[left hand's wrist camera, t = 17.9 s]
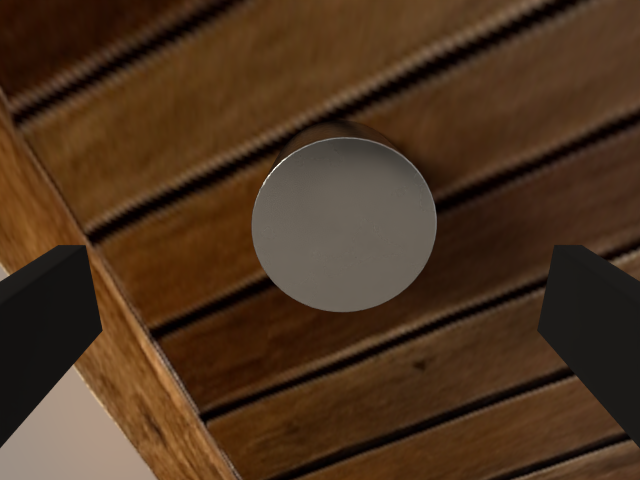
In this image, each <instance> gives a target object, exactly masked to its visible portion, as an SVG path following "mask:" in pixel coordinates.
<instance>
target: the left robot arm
mask: <svg viewBox="0 0 640 480" xmlns="http://www.w3.org/2000/svg"><path fill="white" fill-rule="evenodd" d="M102 331H103V330H102V325H101V320H100V315H99V310H98V305H97V300H96V295H95V290H94V285H93V280H92V275H91V270H90V265H89V260H88V255H87V250H86V245H58V246H56V247H55V248H53V249H51V250H50V251H48V252H47V253H45V254H43V255H42V256H40V257H39V258H37V259H35V260H34V261H32V262H31V263H29V264H27V265H26V266H24V267H23V268H21V269H20V270H18V271H16V272H15V273H13V274H12V275H10V276H8V277H7V278H5V279H4V280H2V281H0V448H1V447H2V446H3V444H4V443H5V442H6V441H7V440H8V439H9V437H10V436H11V435H12V434H13V433H14V432H15V431H16V429H17V428H18V427H19V426H20V425H21V424H22V423H23V421H24V420H25V419H26V418H27V417H28V416H29V415H30V413H31V412H32V411H33V410H34V409H35V408H36V406H37V405H38V404H39V403H40V402H41V401H42V400H43V398H44V397H45V396H46V395H47V394H48V393H49V391H50V390H51V389H52V388H53V387H54V386H55V385H56V383H57V382H58V381H59V380H60V379H61V378H62V377H63V375H64V374H65V373H66V372H67V371H68V370H69V369H70V367H71V366H72V365H73V364H74V363H75V362H76V361H77V359H78V358H79V357H80V356H81V355H82V354H83V352H84V351H85V350H86V349H87V348H88V347H89V346H90V344H91V343H92V342H93V341H94V340H95V339H96V338H97V336H98V335H99V334H100V333H101V332H102ZM537 331H538V332H539V333H540V334H541V335H542V336H543V338H544V339H545V340H546V341H547V342H548V343H549V344H550V346H551V347H552V348H553V349H554V350H555V351H556V352H557V354H558V355H559V356H560V357H561V358H562V359H563V361H564V362H565V363H566V364H567V365H568V366H569V367H570V369H571V370H572V371H573V372H574V373H575V374H576V375H577V377H578V378H579V379H580V380H581V381H582V382H583V384H584V385H585V386H586V387H587V388H588V389H589V390H590V392H591V393H592V394H593V395H594V396H595V397H596V398H597V400H598V401H599V402H600V403H601V404H602V405H603V406H604V408H605V409H606V410H607V411H608V412H609V413H610V415H611V416H612V417H613V418H614V419H615V420H616V421H617V423H618V424H619V425H620V426H621V427H622V428H623V429H624V431H625V432H626V433H627V434H628V435H629V436H630V437H631V439H632V440H633V441H634V442H635V443H636V444H637V446H638V447H639V448H640V281H638V280H636V279H635V278H633V277H632V276H630V275H628V274H627V273H625V272H624V271H622V270H620V269H619V268H617V267H616V266H614V265H613V264H611V263H609V262H608V261H606V260H605V259H603V258H601V257H600V256H598V255H597V254H595V253H593V252H592V251H590V250H589V249H587V248H585V247H584V246H582V245H554V250H553V255H552V260H551V265H550V270H549V275H548V280H547V285H546V290H545V295H544V300H543V305H542V310H541V315H540V320H539V325H538V330H537Z"/></svg>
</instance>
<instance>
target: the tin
mask: <svg viewBox="0 0 640 480" xmlns="http://www.w3.org/2000/svg"><path fill="white" fill-rule="evenodd" d="M251 224H252V238H253V244H254V248H255V251H256V254H257V257H258V259H259V261H260V263H261V265H262V267H263V269H264V270H265V272H266V273H267V275H268V276H269V277H270V279H271V280H272V281H273V282H274V283H275V284H276V285H277V286H278V287H279V288H280V289H281V290H282V291H283V292H285V293H286V294H288V295H289V296H290V297H292V298H293V299H295V300H297V301H299V302H301V303H303V304H305V305H308V306H310V307H313V308H317V309H321V310H326V311H333V312H351V311H359V310H364V309H368V308H371V307H374V306H378V305H380V304H382V303H384V302H386V301H389V300H390V299H392V298H393V297H395V296H397V295H398V294H400V293H401V292H402V291H403V290H405V289H406V288H407V287H408V286H409V285H410V284H411V283H412V282H413V281H414V280H415V279H416V278H417V276H418V275H419V274H420V272H421V271H422V270H423V268H424V266H425V264H426V263H427V261H428V259H429V256H430V254H431V252H432V249H433V245H434V242H435V237H436V229H437V215H436V209H435V203H434V200H433V197H432V193H431V191H430V189H429V187H428V185H427V182H426V181H425V179H424V178H423V176H422V175H421V173H420V172H419V171H418V169H417V168H416V167H415V166H414V165H413V164H412V163H411V162H410V161H409V160H408V159H407V158H406V157H405V156H404V155H403V154H402V153H401V152H400V151H399V150H398V149H396V148H395V147H394V146H393V145H392V144H391V143H390V142H389V141H388V140H387V139H386V138H385V137H383V136H382V135H381V134H380V133H378V132H377V131H375V130H374V129H372V128H370V127H368V126H366V125H363V124H360V123H357V122H353V121H347V120H332V121H325V122H321V123H317V124H315V125H312V126H310V127H308V128H306V129H304V130H302V131H301V132H299V133H298V134H296V135H295V136H294V137H293V138H292V139H291V140H290V141H289V142H288V143H287V144H286V145H285V146H284V147H283V149H282V150H281V152H280V153H279V155H278V157H277V158H276V160H275V162H274V164H273V166H272V168H271V169H270V171H269V173H268V175H267V177H266V179H265V180H264V182H263V184H262V186H261V188H260V190H259V192H258V195H257V197H256V200H255V204H254V208H253V213H252V222H251Z"/></svg>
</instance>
